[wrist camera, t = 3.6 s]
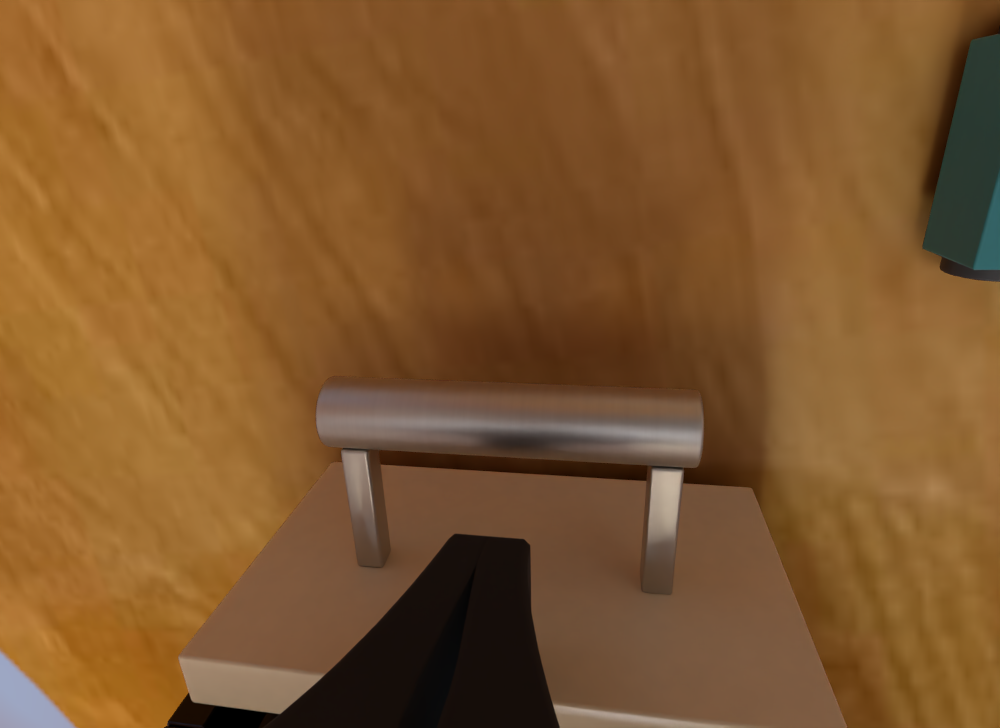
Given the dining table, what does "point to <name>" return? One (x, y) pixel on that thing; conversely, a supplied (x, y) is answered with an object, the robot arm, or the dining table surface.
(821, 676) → the drawer
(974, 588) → the dining table surface
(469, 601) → the robot arm
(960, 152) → the toy car
